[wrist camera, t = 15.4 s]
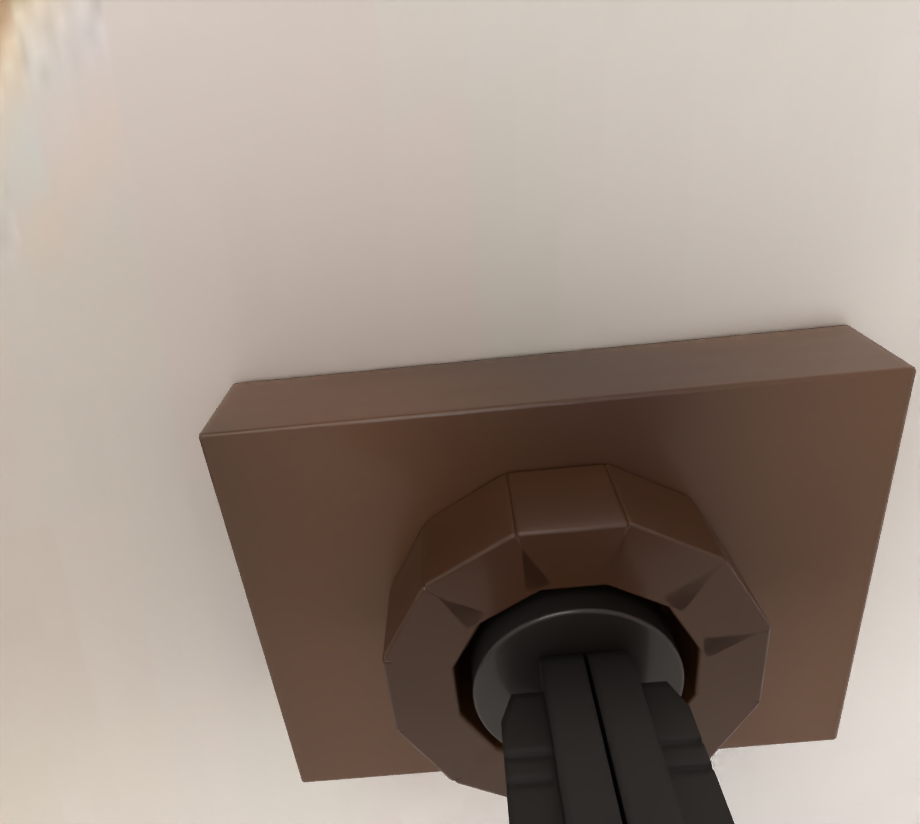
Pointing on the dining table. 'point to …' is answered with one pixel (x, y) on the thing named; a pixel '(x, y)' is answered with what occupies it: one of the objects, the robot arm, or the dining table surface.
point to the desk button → (566, 642)
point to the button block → (559, 530)
